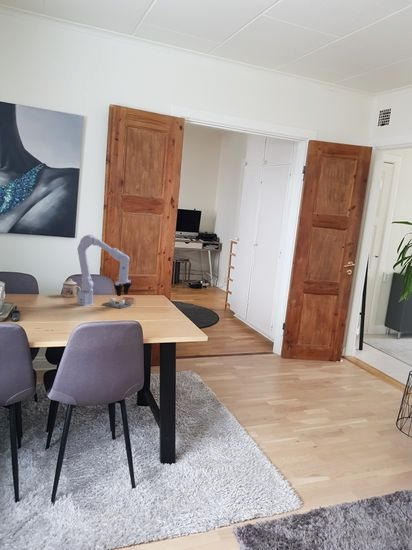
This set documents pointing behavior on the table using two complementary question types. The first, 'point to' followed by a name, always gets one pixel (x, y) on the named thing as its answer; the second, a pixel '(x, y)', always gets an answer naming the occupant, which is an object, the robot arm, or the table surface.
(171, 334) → the table surface
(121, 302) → the white egg
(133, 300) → the bowl
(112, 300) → the stone pebble near
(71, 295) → the teacup with lid
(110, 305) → the parts tray
